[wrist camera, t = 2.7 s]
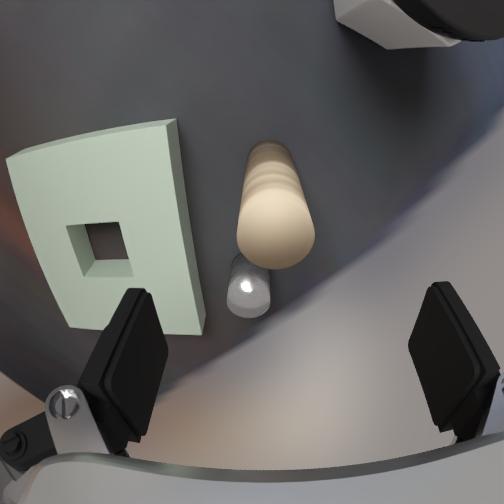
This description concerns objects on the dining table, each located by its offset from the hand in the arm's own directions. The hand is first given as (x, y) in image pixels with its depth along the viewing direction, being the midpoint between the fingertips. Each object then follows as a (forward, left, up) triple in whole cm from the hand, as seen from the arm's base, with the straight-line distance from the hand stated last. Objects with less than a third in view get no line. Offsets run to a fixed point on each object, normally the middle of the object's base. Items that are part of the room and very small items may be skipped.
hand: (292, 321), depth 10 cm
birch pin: (0, 0, -17) cm, 17 cm away
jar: (-14, +9, -17) cm, 24 cm away
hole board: (+6, -15, -17) cm, 24 cm away
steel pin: (+10, -2, -17) cm, 20 cm away
